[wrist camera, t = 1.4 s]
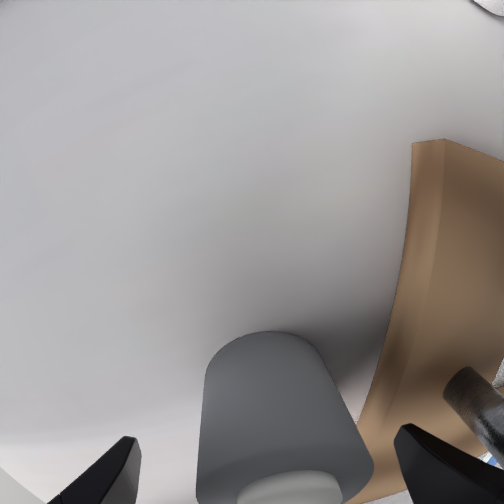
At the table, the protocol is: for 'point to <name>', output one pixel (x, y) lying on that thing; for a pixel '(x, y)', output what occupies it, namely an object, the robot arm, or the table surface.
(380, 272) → the table surface
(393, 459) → the base board
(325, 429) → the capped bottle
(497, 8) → the beverage can
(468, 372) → the hook post
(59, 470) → the table surface
